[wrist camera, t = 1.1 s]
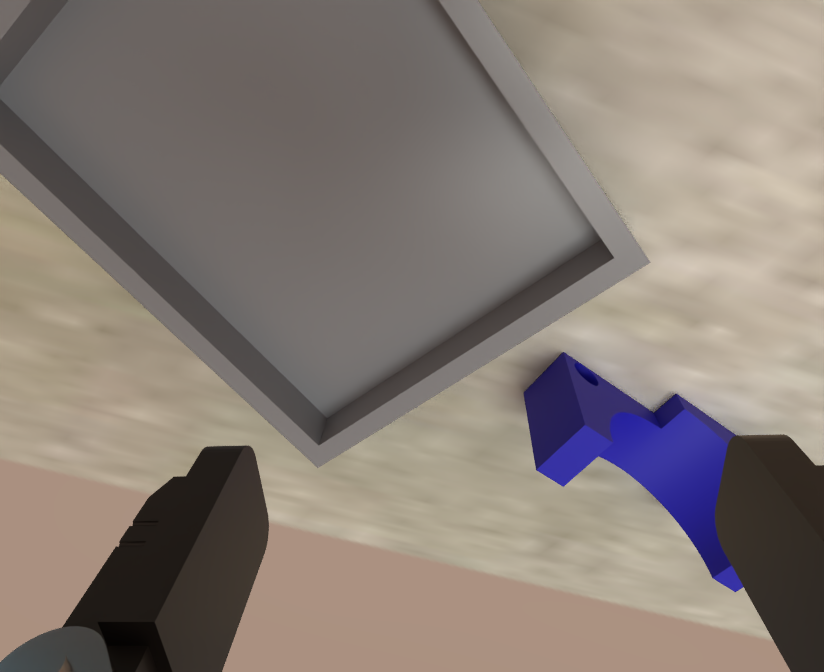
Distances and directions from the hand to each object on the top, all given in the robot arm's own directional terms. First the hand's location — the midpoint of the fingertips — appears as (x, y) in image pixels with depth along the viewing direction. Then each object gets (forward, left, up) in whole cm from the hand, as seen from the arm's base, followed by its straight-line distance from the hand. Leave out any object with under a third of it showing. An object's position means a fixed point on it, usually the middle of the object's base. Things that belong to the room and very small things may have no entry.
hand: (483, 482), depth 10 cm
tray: (+5, -5, -18) cm, 19 cm away
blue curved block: (0, +15, -18) cm, 23 cm away
